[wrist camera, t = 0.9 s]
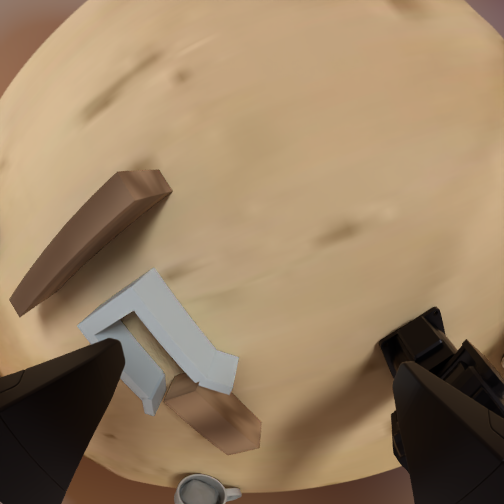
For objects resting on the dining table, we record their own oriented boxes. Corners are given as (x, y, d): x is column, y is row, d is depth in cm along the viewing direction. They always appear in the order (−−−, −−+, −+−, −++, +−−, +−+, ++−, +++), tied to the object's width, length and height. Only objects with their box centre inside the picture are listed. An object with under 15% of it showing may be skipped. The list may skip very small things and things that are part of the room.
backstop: (172, 191, 20) (134, 200, 14) (55, 292, 24) (19, 317, 18) (159, 169, 19) (117, 171, 13) (45, 277, 23) (9, 299, 17)
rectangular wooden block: (261, 420, 26) (259, 448, 22) (232, 428, 27) (227, 455, 23) (205, 362, 24) (195, 391, 20) (175, 374, 25) (163, 401, 21)
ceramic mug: (177, 482, 34) (168, 515, 27) (182, 467, 31) (172, 505, 24) (235, 496, 34) (231, 528, 27) (248, 482, 32) (244, 520, 24)
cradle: (242, 361, 24) (237, 392, 20) (161, 391, 26) (149, 417, 22) (165, 259, 21) (144, 277, 17) (92, 310, 24) (70, 330, 20)
